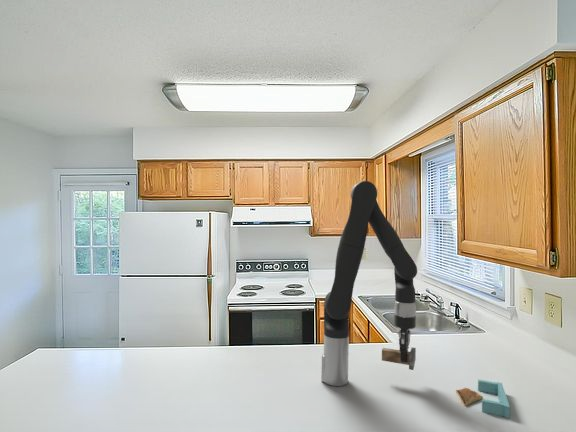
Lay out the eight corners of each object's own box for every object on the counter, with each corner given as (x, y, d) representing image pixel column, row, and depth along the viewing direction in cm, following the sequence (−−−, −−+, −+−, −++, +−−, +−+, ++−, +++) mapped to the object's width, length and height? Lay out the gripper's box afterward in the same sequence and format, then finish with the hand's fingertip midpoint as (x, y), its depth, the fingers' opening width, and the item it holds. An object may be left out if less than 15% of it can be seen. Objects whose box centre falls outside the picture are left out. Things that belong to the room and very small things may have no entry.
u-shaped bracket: (482, 412, 116) (482, 401, 116) (477, 388, 133) (478, 378, 133) (509, 418, 113) (509, 406, 113) (501, 392, 130) (501, 382, 130)
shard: (465, 408, 120) (465, 403, 120) (444, 398, 126) (444, 393, 126) (483, 400, 125) (483, 395, 125) (463, 390, 132) (463, 385, 132)
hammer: (380, 364, 133) (380, 351, 133) (384, 354, 142) (384, 343, 142) (413, 370, 129) (413, 357, 129) (415, 359, 138) (415, 347, 138)
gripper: (396, 308, 142) (396, 352, 142) (391, 317, 130) (391, 365, 130) (417, 310, 139) (416, 355, 139) (414, 319, 127) (413, 369, 127)
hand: (404, 360), depth 135 cm, fingers closed on hammer, 2 cm apart
